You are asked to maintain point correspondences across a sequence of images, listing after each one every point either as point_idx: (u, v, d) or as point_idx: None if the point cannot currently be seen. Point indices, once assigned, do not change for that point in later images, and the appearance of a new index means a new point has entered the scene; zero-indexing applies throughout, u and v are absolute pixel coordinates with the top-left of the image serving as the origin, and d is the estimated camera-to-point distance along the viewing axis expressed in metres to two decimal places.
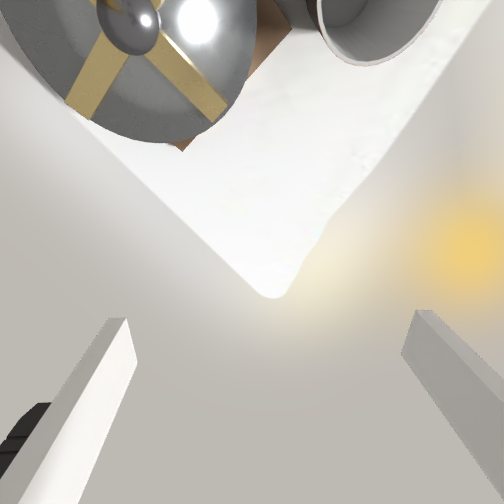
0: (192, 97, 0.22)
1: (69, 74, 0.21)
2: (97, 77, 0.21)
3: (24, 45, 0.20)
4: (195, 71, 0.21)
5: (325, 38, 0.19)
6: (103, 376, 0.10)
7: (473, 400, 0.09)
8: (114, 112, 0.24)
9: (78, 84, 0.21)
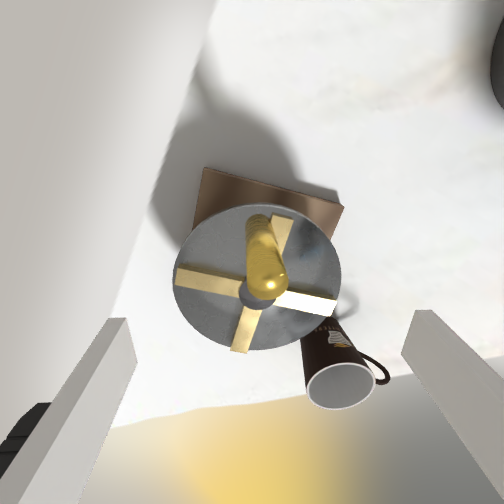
0: (237, 335, 0.30)
1: (198, 261, 0.27)
2: (211, 284, 0.27)
3: (198, 232, 0.26)
4: (253, 331, 0.30)
5: (310, 380, 0.32)
6: (103, 376, 0.10)
7: (473, 400, 0.09)
8: (190, 291, 0.28)
9: (197, 274, 0.26)
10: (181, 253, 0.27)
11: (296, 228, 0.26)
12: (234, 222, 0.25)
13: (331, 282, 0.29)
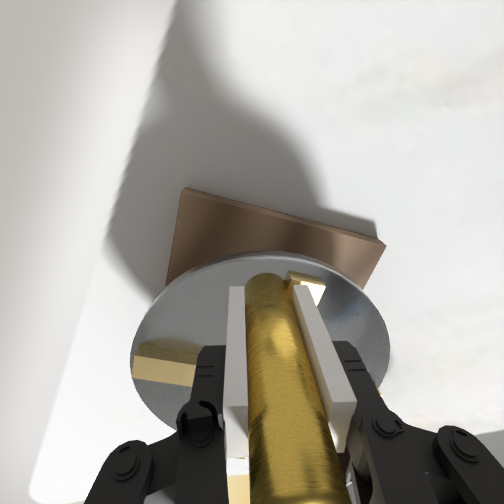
0: None
1: (169, 340, 0.17)
2: (190, 377, 0.17)
3: (168, 300, 0.16)
4: None
5: None
6: None
7: (308, 353, 0.11)
8: None
9: (168, 364, 0.17)
10: (142, 329, 0.17)
11: (326, 293, 0.16)
12: (226, 285, 0.15)
13: (373, 366, 0.19)
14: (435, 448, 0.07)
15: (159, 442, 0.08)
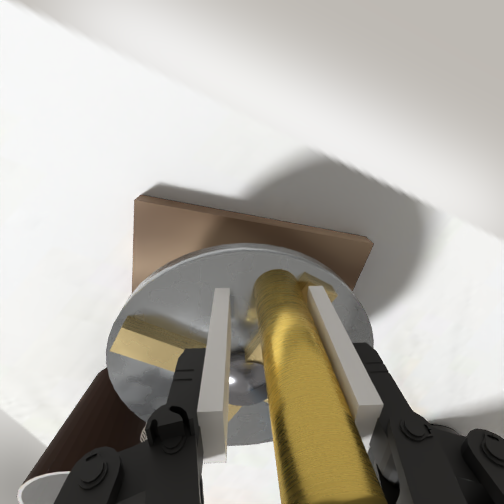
0: None
1: (161, 318, 0.16)
2: (174, 361, 0.16)
3: (174, 276, 0.15)
4: None
5: None
6: (228, 330, 0.12)
7: None
8: (136, 358, 0.17)
9: (155, 343, 0.15)
10: (134, 301, 0.15)
11: (332, 302, 0.16)
12: (239, 273, 0.15)
13: None
14: (464, 450, 0.07)
15: (131, 448, 0.07)
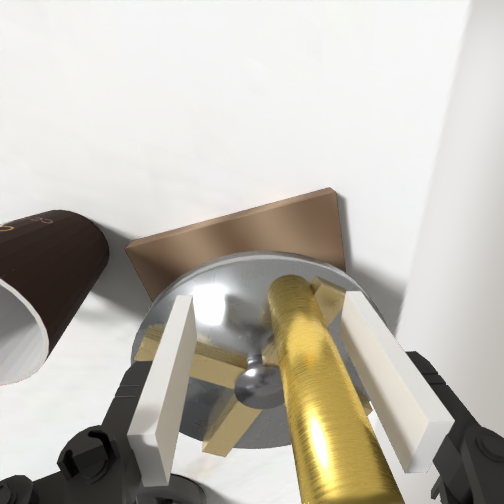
0: (218, 434, 0.20)
1: None
2: (195, 367, 0.17)
3: (190, 286, 0.15)
4: (243, 432, 0.20)
5: (36, 313, 0.13)
6: (184, 341, 0.11)
7: (377, 365, 0.10)
8: None
9: None
10: (155, 311, 0.16)
11: None
12: (253, 280, 0.15)
13: None
14: None
15: (52, 475, 0.07)
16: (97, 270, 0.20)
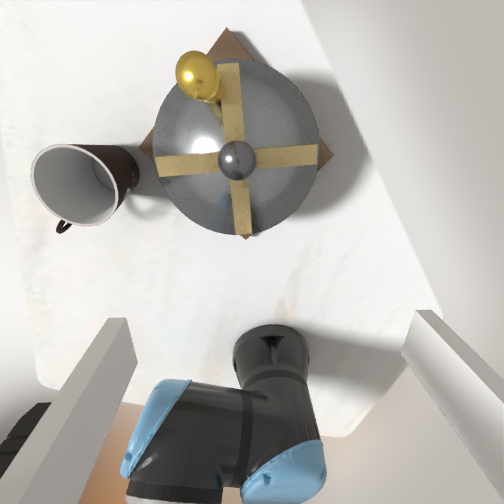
0: (236, 215, 0.31)
1: (172, 147, 0.28)
2: (191, 165, 0.28)
3: (160, 116, 0.27)
4: (249, 206, 0.31)
5: (99, 160, 0.27)
6: (103, 376, 0.10)
7: (473, 400, 0.09)
8: (178, 184, 0.30)
9: (175, 158, 0.28)
10: (154, 144, 0.28)
11: (248, 76, 0.26)
12: None
13: (306, 127, 0.28)
14: None
15: None
16: (130, 165, 0.34)
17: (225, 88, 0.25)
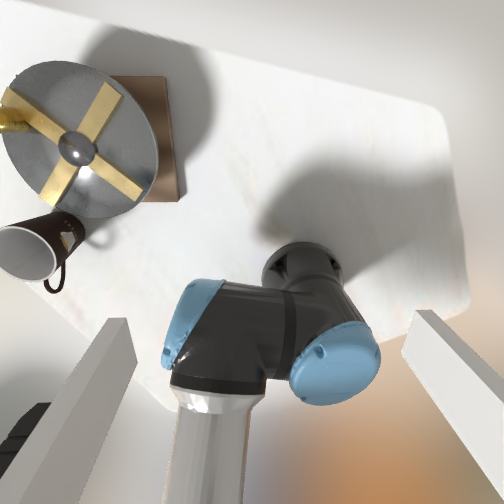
0: (119, 187, 0.34)
1: (43, 181, 0.34)
2: (59, 180, 0.34)
3: (18, 167, 0.34)
4: (119, 172, 0.33)
5: (13, 226, 0.35)
6: (103, 376, 0.10)
7: (473, 400, 0.09)
8: (71, 200, 0.36)
9: (47, 186, 0.34)
10: (34, 188, 0.35)
11: (25, 88, 0.30)
12: (12, 137, 0.32)
13: (91, 78, 0.30)
14: None
15: None
16: (60, 217, 0.42)
17: (19, 111, 0.30)
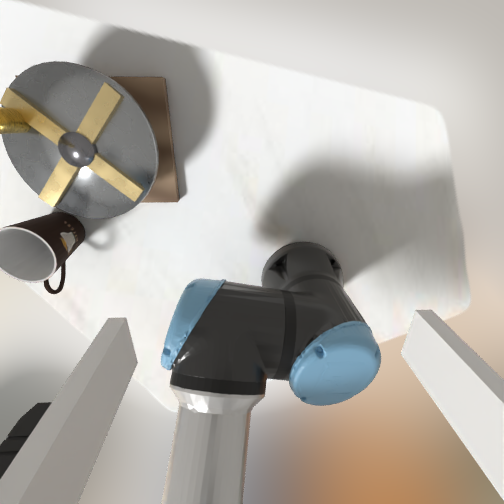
0: (119, 187, 0.34)
1: (43, 181, 0.34)
2: (59, 181, 0.34)
3: (18, 168, 0.34)
4: (119, 172, 0.33)
5: (13, 227, 0.35)
6: (103, 376, 0.10)
7: (473, 400, 0.09)
8: (71, 201, 0.36)
9: (47, 186, 0.34)
10: (34, 189, 0.35)
11: (25, 89, 0.30)
12: (12, 137, 0.32)
13: (91, 79, 0.30)
14: None
15: None
16: (60, 218, 0.42)
17: (19, 111, 0.30)
